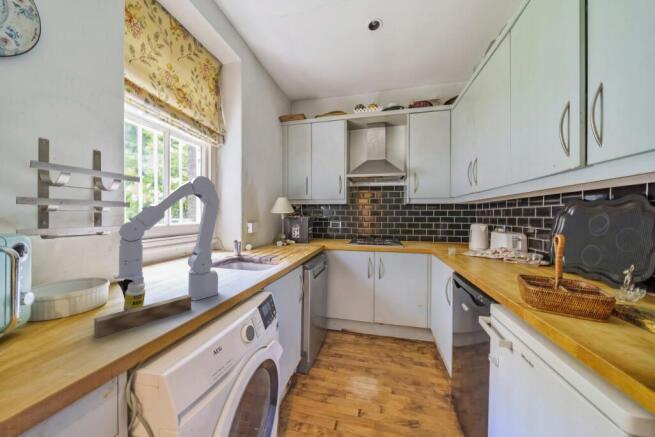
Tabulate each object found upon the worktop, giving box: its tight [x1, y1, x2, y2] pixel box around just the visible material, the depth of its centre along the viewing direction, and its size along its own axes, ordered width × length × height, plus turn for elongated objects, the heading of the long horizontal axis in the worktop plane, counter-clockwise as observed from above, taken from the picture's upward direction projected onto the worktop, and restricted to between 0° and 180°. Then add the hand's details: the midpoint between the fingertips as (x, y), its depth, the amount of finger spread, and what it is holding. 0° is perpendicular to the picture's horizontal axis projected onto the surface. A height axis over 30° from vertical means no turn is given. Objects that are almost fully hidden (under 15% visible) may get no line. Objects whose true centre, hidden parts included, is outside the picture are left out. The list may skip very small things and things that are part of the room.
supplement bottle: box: [123, 282, 146, 311], centre depth 73 cm, size 5×5×8 cm
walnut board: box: [93, 294, 192, 339], centre depth 67 cm, size 22×3×4 cm, turn 147°
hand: (130, 302), depth 75 cm, fingers closed
